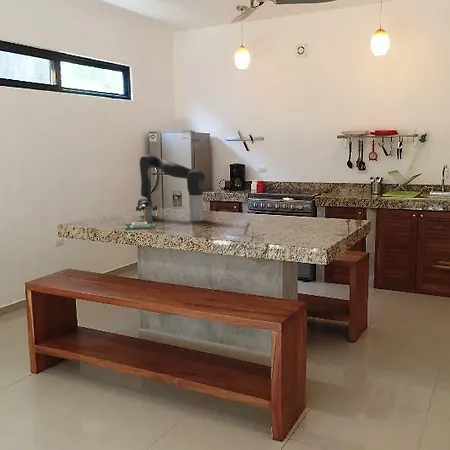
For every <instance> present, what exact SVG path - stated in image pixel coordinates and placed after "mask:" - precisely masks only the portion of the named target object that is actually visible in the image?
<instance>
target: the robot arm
mask: <svg viewBox="0 0 450 450" xmlns="http://www.w3.org/2000/svg"><path fill="white" fill-rule="evenodd" d="M151 168H156V169H158V170H159V169H160V170H161V171H162V172H163V173H164V174H165V175H167V176H170V177H174V178H176V179H177V178H178V179H186V185H187V186H186V187H187V192H188V208H189V210H188V212H189V216H188V217H189V221H190V222H203V221H205V216H204V215H205V210H204V209H205V208H204V196H203V195H204V191H203V190H202V189H201V188H200V185H201V184H203V183H204V182H205V181H206V176H205V174H204V172H203V171H201V170H197V169H193V168H189V167H187V166H184V165H182V164H178V163H176V162H173V161H169V160H166V159H163V158H161V157H158V156H156V155H154V154H146V155H143V156H141V157H140V159H139V169H140V170H139V171H140V180H141V181H140V182H141V183H140V195H141V197H144V198H139V199H138V201H137V206H135V211H136V212H138V211H139V212H143V213H144V210H145V208H146V207H151V208H152V212H155V211H158V206H157V205H154V206H153V200H152V183H151V180H150V178H149V169H151Z"/></svg>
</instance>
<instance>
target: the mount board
mask: <svg viewBox="0 0 450 450" xmlns="http://www.w3.org/2000/svg"><path fill="white" fill-rule="evenodd" d="M134 228H153V229H156V225H155V223H154V222H152V223H147V222H144V221H137V222H136V221H134V222H129V223H127V222H126V223H124V230H125V229H131V230H135V229H134Z"/></svg>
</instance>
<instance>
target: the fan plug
mask: <svg viewBox="0 0 450 450" xmlns="http://www.w3.org/2000/svg"><path fill="white" fill-rule="evenodd" d="M143 222H147V223H153V211H152V208H151V207H146V208H145V210H144V212H143Z"/></svg>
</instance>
